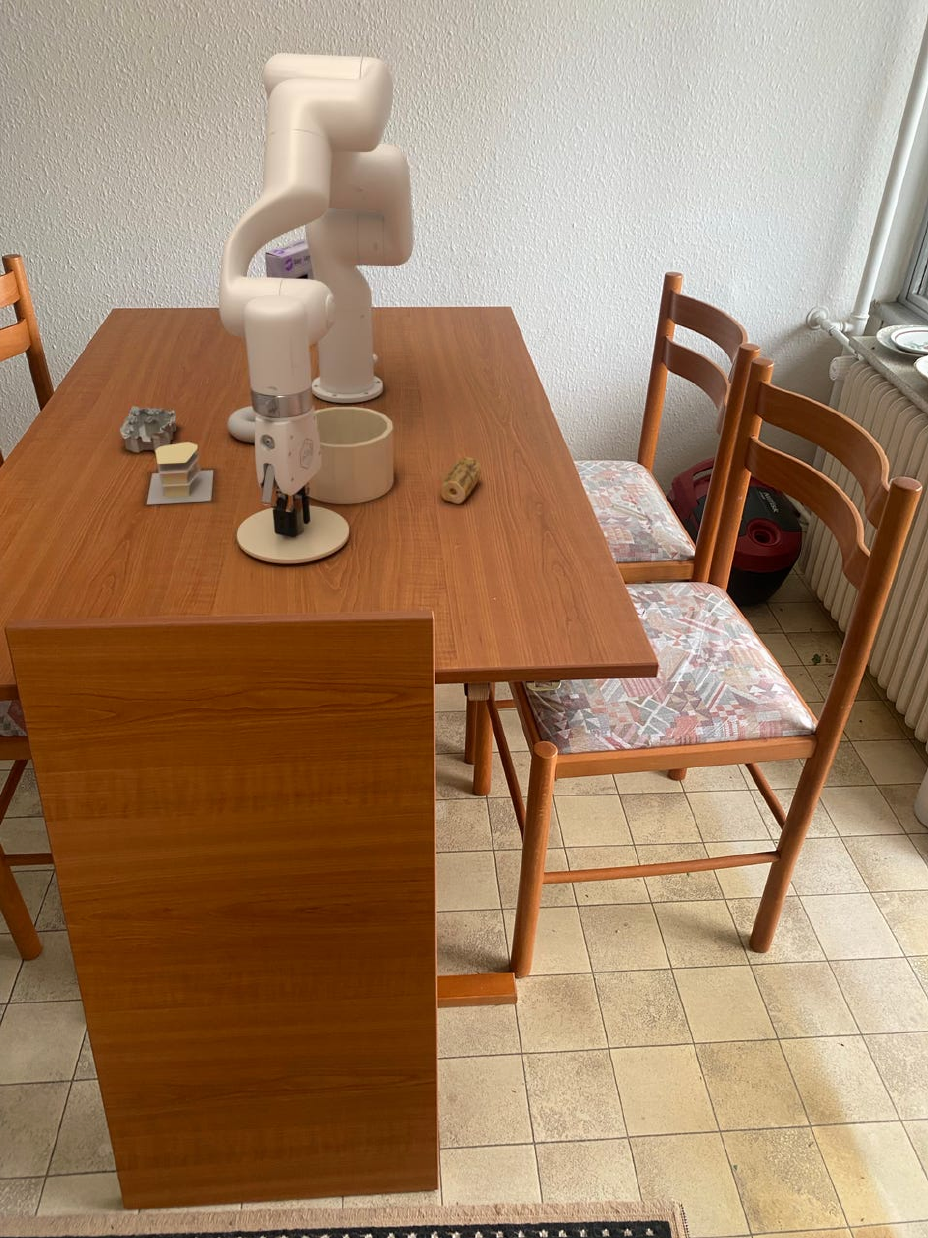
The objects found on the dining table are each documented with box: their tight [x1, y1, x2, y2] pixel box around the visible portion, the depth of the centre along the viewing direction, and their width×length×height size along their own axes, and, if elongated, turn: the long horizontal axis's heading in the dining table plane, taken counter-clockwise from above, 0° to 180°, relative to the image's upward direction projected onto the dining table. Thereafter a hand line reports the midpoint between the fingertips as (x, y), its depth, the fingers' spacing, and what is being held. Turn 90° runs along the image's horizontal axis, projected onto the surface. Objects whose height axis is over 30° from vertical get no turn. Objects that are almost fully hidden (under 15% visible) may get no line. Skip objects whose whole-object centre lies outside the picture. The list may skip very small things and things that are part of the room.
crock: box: [306, 406, 395, 505], centre depth 152 cm, size 14×14×9 cm
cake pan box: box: [264, 237, 314, 280], centre depth 204 cm, size 19×5×18 cm, turn 147°
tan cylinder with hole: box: [440, 456, 482, 505], centre depth 151 cm, size 8×4×4 cm, turn 162°
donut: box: [226, 405, 256, 444], centre depth 167 cm, size 10×4×10 cm
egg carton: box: [119, 405, 177, 454], centre depth 164 cm, size 11×8×4 cm
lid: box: [236, 492, 350, 564], centre depth 138 cm, size 15×15×6 cm
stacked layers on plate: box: [146, 441, 214, 505], centre depth 150 cm, size 10×9×6 cm
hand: (292, 526), depth 139 cm, fingers closed on lid, 3 cm apart
